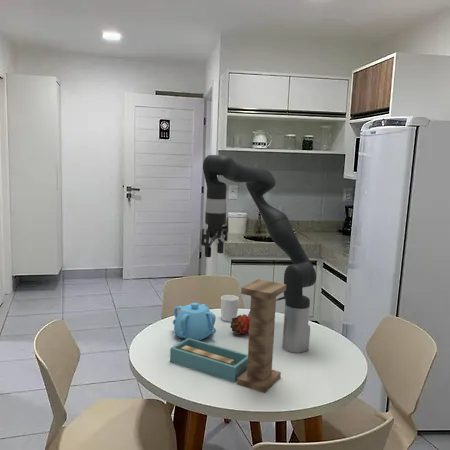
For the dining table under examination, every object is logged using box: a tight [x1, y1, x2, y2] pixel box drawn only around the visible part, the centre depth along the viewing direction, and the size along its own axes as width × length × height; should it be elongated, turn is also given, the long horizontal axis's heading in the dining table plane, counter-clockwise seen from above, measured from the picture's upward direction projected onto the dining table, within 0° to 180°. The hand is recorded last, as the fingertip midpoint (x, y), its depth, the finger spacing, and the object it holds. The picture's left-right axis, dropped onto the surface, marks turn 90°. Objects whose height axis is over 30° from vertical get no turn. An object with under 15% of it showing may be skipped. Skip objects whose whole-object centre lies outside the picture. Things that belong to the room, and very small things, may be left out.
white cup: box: [220, 294, 240, 323], centre depth 201 cm, size 8×8×10 cm
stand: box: [236, 278, 286, 394], centre depth 144 cm, size 10×12×32 cm
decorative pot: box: [172, 302, 217, 341], centre depth 180 cm, size 16×16×14 cm
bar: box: [181, 346, 234, 366], centre depth 156 cm, size 20×3×3 cm, turn 59°
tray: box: [169, 338, 248, 383], centre depth 156 cm, size 26×11×5 cm, turn 60°
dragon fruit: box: [230, 313, 250, 336], centre depth 186 cm, size 8×8×12 cm
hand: (214, 255), depth 164 cm, fingers open, 8 cm apart
